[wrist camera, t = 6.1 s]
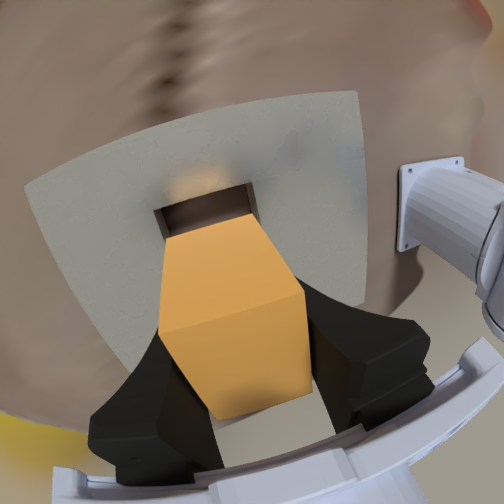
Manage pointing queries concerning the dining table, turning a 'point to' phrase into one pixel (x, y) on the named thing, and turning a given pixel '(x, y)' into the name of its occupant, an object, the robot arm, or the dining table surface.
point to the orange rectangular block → (234, 318)
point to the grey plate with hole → (200, 183)
